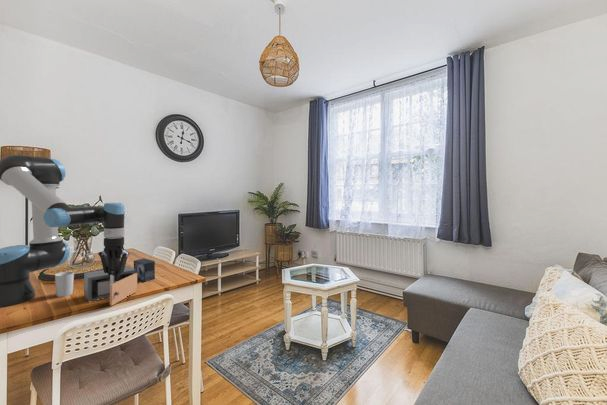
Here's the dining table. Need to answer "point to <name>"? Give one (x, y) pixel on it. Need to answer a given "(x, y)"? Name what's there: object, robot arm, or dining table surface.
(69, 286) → the drinking glass
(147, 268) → the small box
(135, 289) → the side door
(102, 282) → the grey cabinet
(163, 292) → the dining table surface
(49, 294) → the dining table surface
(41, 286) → the dining table surface
